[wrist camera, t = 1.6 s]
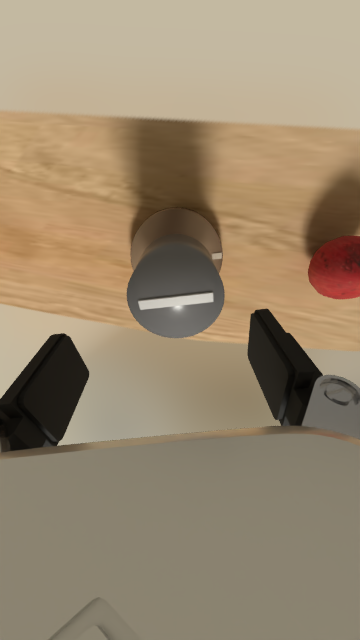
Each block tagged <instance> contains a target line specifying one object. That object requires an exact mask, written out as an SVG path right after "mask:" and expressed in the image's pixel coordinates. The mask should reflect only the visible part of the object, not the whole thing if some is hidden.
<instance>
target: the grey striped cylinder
mask: <svg viewBox="0 0 360 640" xmlns="http://www.w3.org/2000/svg"><path fill="white" fill-rule="evenodd" d="M127 301H128V305H129V308H130V311H131V313H132V315H133V316H134V318H135V319H136V320H137V321H138V322H139V324H140V325H142V326H143V327H144V328H145V329H147V330H148V331H150V332H152V333H154V334H157V335H160V336H163V337H169V338H184V337H189V336H193V335H195V334H198V333H200V332H202V331H204V330H205V329H207V328H208V327H209V326H210V325H211V324H212V323H213V322H214V321H215V320H216V319H217V317H218V316H219V314H220V312H221V310H222V307H223V304H224V287H223V283H222V280H221V278H220V276H219V273H218V271H217V269H216V266H215V264H214V262H213V259H212V257H211V255H210V253H209V251H208V250H207V249H206V247H205V246H204V245H203V244H202V243H201V242H199V241H198V240H196V239H194V238H193V237H190V236H187V235H183V234H169V235H165V236H162V237H160V238H158V239H156V240H154V241H153V242H152V243H151V244H150V245H148V247H147V248H146V249H145V250H144V252H143V254H142V256H141V258H140V260H139V262H138V264H137V266H136V268H135V270H134V272H133V274H132V276H131V278H130V281H129V283H128V288H127Z"/></svg>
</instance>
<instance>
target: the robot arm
mask: <svg viewBox="0 0 360 640" xmlns="http://www.w3.org/2000/svg"><path fill="white" fill-rule="evenodd" d="M248 359H249V361H250V364H251V366H252V368H253V370H254V373H255V375H256V377H257V380H258V382H259V384H260V387H261V389H262V391H263V393H264V396H265V398H266V400H267V403H268V405H269V407H270V410H271V412H272V414H273V417H274V418H275V419H276V420H279V421H280V423H281V426H267V427H255V428H254V427H253V428H240V429H228V430H216V431H205V432H195V433H184V434H173V435H162V436H153V437H141V438H131V439H121V440H112V441H111V440H110V441H101V442H90V443H81V444H71V445H61V446H57V444H58V442H59V441H60V440H61V439H62V438H63V436H64V434H65V432H66V429H67V427H68V425H69V422H70V420H71V418H72V415H73V413H74V411H75V408H76V406H77V404H78V401H79V398H80V396H81V394H82V392H83V390H84V387H85V385H86V383H87V380H88V378H89V371H88V369H87V367H86V365H85V363H84V362H83V360H82V358H81V356H80V354H79V352H78V351H77V349H76V347H75V345H74V344H73V342H72V340H71V338H70V337H69V336H67V335H66V334H54V335H51V336H50V337H49V339H48V340H47V341H46V342H45V343H44V345H43V346H42V347H41V348H40V350H39V351H38V352H37V354H36V355H35V356H34V357H33V359H32V360H31V361H30V362H29V364H28V365H27V366H26V367H25V369H24V370H23V371H22V372H21V374H20V375H19V376H18V378H17V379H16V380H15V381H14V382H13V384H12V385H11V386H10V388H9V389H8V390H7V391H6V393H5V394H4V395H3V396H2V398H1V399H0V640H360V388H359V387H358V386H357V385H356V384H354V383H353V382H351V381H349V380H347V379H345V378H343V377H339V376H335V375H324V376H323V375H322V373H321V372H320V371H319V369H318V368H317V367H316V366H315V364H314V363H313V362H312V360H311V359H310V358H309V357H308V355H307V354H306V353H305V351H304V350H303V349H302V348H301V346H300V345H299V344H298V343H297V341H296V340H295V339H294V337H293V336H292V335H291V334H290V333H286V332H285V331H284V329H283V328H282V327H281V325H280V324H279V323H278V321H277V320H276V319H275V317H274V316H273V315H272V313H271V312H270V311H269V310H268V309H260V310H255V312H254V313H252V314H251V319H250V331H249V343H248Z"/></svg>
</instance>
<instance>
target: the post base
mask: <svg viewBox="0 0 360 640" xmlns="http://www.w3.org/2000/svg"><path fill="white" fill-rule="evenodd" d="M169 234H183V235H187V236H190V237H193V238H194V239H196V240H198V241H199V242H201V243H202V244H203V245H204V246H205V247H206V249H207V250H208V251H209V253H210V255H211V257H212V259H213V262H214V264H215V266H216V269H217V271H218V273H219V272H220V269H221V265H222V258H223V253H222V246H221V242H220V239H219V236H218V235H217V233H216V231H215V229H214V228H213V227H212V225H211V224H210V223H209V222H208V221H207V220H206V219H205V218H204V217H203V216H202V215H200V214H198V213H197V212H195V211H192V210H190V209H185V208H177V207H176V208H168V209H163V210H161V211H158V212H156V213H155V214H153V215H152V216H150V217H149V218H148V219H147V220H146V221H145V222H144V223H143V224H142V225H141V227H140V228H139V229H138V231H137V233H136V234H135V236H134V239H133V242H132V246H131V263H132V267H133V270H135V268H136V266H137V264H138V262H139V260H140V258H141V256H142V254H143V252H144V250H145V249H146V248H147V247H148V245H150V244H151V243H152V242H153V241H154V240H156V239H158V238H160V237H162V236H165V235H169Z"/></svg>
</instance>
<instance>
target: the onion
mask: <svg viewBox="0 0 360 640" xmlns="http://www.w3.org/2000/svg"><path fill="white" fill-rule="evenodd" d="M308 276H309V282H310V283H311V284H312V286H313V287H314V288H315V289H316V290H317V292H318V293H320V294H322V295H323V296H327V297H330V298H333V299H350V298H356V297H359V296H360V236H342V237H339V238H336V239H334V240H331V241H329V242H326V243H325V244H324V245H323V246H322V247H320V248H319V249H318V250H317V251H316V252H315V254H314V256H313V257H312V259H311V261H310V265H309V269H308Z"/></svg>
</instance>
